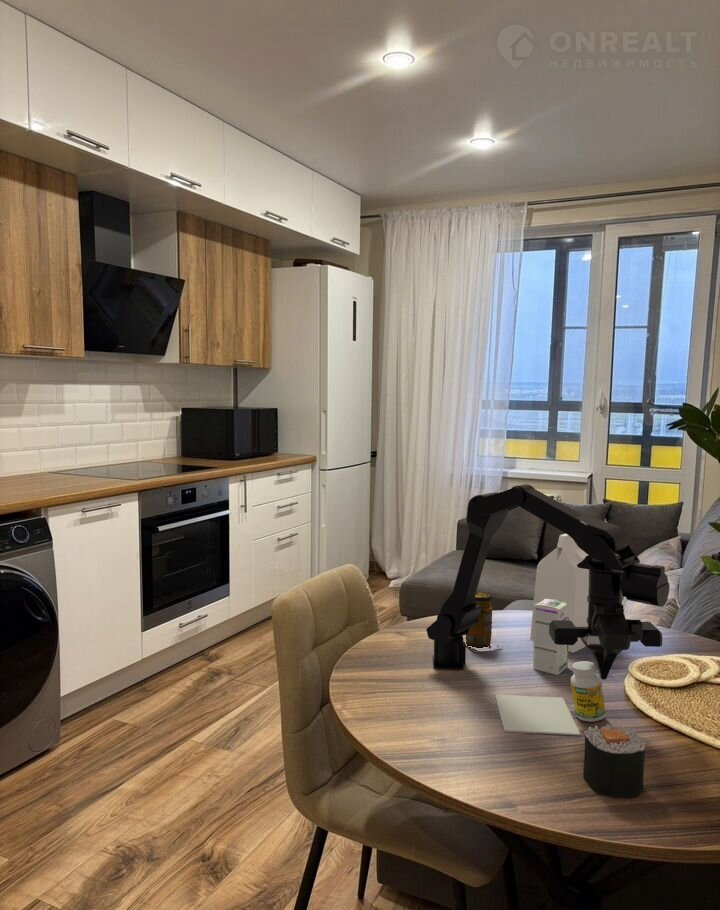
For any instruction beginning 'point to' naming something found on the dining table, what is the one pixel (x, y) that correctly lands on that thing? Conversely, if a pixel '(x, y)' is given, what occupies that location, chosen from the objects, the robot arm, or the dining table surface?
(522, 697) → the mat
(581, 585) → the milk
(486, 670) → the dining table surface
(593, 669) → the supplement bottle
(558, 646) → the syrup box
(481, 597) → the condiment
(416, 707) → the dining table surface
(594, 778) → the sushi
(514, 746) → the dining table surface
